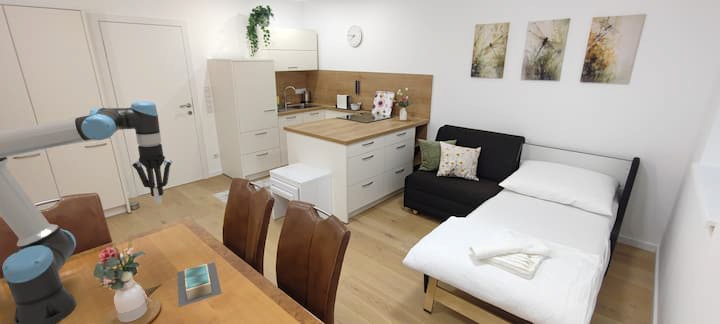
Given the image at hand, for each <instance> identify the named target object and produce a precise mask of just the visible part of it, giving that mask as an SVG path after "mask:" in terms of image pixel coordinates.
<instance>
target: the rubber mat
mask: <svg viewBox="0 0 720 324" xmlns="http://www.w3.org/2000/svg"><path fill="white" fill-rule="evenodd" d="M206 264H207V267H208V272H209V278H210V283H211V289H212V293H210V294H206V295H203V296H200V297H197V298H194V299H190V300H188V299H187V294H186V284H185V269H184V270H181V271H177V275H176V276H177V299H178V300H177V301H178V302H177V303H178V308H180V307H181V308H182V307H185V306H187V305H189V304H193V303H196V302H199V301H203V300H205V299H209V298H211V297H215V296H219V295H221V294H222V293H223V292H222V289H221V285H220V280H219V275H218V271H217V266H216V262H215V261H214V262H211V263H206Z"/></svg>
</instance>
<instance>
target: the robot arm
mask: <svg viewBox="0 0 720 324" xmlns="http://www.w3.org/2000/svg"><path fill="white" fill-rule="evenodd" d="M130 105H131V106H130V107H122V108H121V107H120V108H119V107H113V108H112V107H100V108H92V109H91V110H90V112H89V115H84V116H83V115H82V116H79V117H73V118H66V119H62V120H57V121H56V120H54V121H50V122H45V123H44V122H43V123H39V124H33V125H28V126H21V127H16V128H11V129H4V130H0V217H1V218H2V219H3V221H4V222H5V223H6V225H7V226H8V227H9V228H10V229H11V230H12V232H13V233H14V234H15V236H17V238H18V241H17V243H16V247H18V249H19V250H18V252H14V253H13V254H11V255H9V256H8V257H7V258H6V259H5V260H4V262H3V263H2V267H1V268H2V269H1V270H2V272H3V277H4V280H5V282H6V283H7V286H8V288H9V291H10V293H11V295H12V298H13V300H14V303H15V310H14V313H15V314H14V324H56V323H58V322H60V321H62V320H63V319H65V318H67V316H69V315H70V314H71V313H72V312H74V309H75V308H76V306H77V301H76V299H75V296H74V295H73V294H71V293H70V292H69V290H68V289H67V288H65V287H64V285H63V281H62V279H61V275H60V271H61V269H62V268H63V267H64V266H65V264H66V262H67V261H68V260H69V259H70V258H71V257H72V255H73V253H74V252H75V249H76V245H77V241H76V238H75V236H74V235H73V234H72V233H71V232H70V231H68V230H66V229H65V230H64V229H63V228H60V227H59V225H57V224H52V223H49V221H48V220H47V218H46V217H45V216H44V215H43V213H42V212H41V211H40V209H39V208H38V207H37V206H36V204H35V202H34V201H33V200H32V199H31V198H30V196H29V195H28V193H27V192H26V191H25V189H24V188H23V187H22V185H21V184H20V183H19V181H18V180H17V179H16V178H15V176H14V175H13V173H11V171H10V170H9V168H8V167H7V163H8V160H9V159H8V157H13V156H17V155H23V154H26V153H27V154H28V153H32V152H37V151H42V150H47V149H52V148H58V147H62V146H67V145H72V144H77V143H82V142H86V141H102V140H105V139H108V138H111V137H112V136H113V135H114V134H115V133H116V132H117V131H119V130H135V137H136V142H137V145H138V146H137V150H138V156H139V158H138V160H137V161H135V162H134V163H132V167H133V168H134V169H135V170H136V172H137V174H138V176H139V179H140V180H141V183H142V185H143V187H145V188H149V189H150V195H151V196H152V197H154V204H155V205H157V206H158V205H161V204H162V202H163V201H162V200H163V199H162V196H163V194H164V188H163V187H166V186H167V185H168V182H169V175H170V171H171V170H170V168H171V165H172V164H173V161H172V160H169V159H166V157H165V155H164V152H163V151H164V150H163V144H162V138H161V136H162V135H161V131H160V130H161V129H160V122H159V113H158V109H157V106H156V103H155V102H153V101H135V102H134V101H133V102H132V103H131V104H130ZM162 165H164V170H163V176H162V172H161V166H162ZM143 167H145V170H146V173H145V170H144V168H143ZM146 174H147V175H146ZM154 174H155V175H154Z"/></svg>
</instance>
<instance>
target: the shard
mask: <svg viewBox="0 0 720 324" xmlns="http://www.w3.org/2000/svg"><path fill="white" fill-rule="evenodd" d="M161 286H163V284H162V283H161V284H158V285H154V286H151V287H148V288H145V289H143V290H144V291H145V293H146V295H147V297H148V298H149V297H150V296H151V295H153V294H155V292H156V291H157V290H158V289H159V287H161Z"/></svg>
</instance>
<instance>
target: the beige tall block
mask: <svg viewBox="0 0 720 324" xmlns="http://www.w3.org/2000/svg"><path fill="white" fill-rule="evenodd" d="M207 264H208V263H203V264H200V265H196V266H193V267H189V268H186V269H184V270H185V284H186V294H187V299H188V300H190V299H194V298H197V297H200V296H203V295H206V294H210V293H212V289H211V283H210V278H209V272H208V267H207Z"/></svg>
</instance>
